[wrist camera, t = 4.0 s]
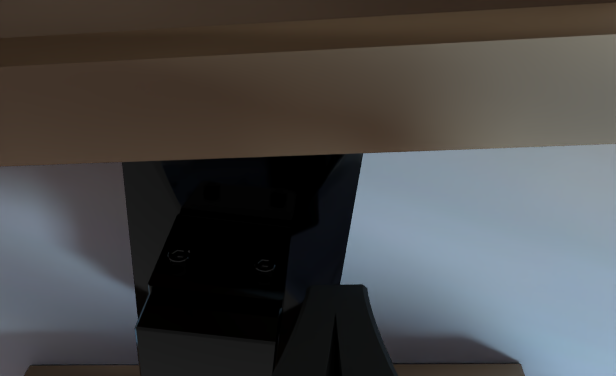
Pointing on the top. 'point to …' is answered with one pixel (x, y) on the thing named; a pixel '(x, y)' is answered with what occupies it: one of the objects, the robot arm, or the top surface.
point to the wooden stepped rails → (300, 85)
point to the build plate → (232, 255)
